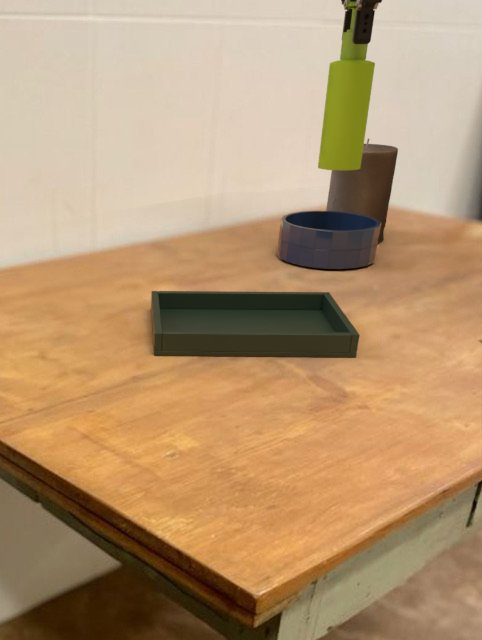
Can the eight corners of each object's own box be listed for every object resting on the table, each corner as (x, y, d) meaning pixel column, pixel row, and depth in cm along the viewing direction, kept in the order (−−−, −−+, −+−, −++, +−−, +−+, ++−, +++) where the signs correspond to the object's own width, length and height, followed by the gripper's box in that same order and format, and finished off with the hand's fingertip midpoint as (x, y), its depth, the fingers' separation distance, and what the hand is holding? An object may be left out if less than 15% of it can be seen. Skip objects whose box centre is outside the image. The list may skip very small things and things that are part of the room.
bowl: (361, 247, 128) (367, 210, 125) (385, 271, 116) (392, 231, 113) (271, 246, 128) (274, 210, 125) (285, 270, 116) (290, 231, 113)
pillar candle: (395, 242, 131) (414, 140, 123) (347, 248, 128) (363, 144, 120) (356, 229, 139) (371, 133, 131) (309, 235, 135) (322, 136, 127)
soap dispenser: (313, 170, 114) (332, 1, 104) (321, 164, 119) (340, 3, 109) (356, 172, 112) (379, -1, 102) (362, 166, 117) (386, 2, 107)
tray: (326, 312, 100) (329, 292, 99) (356, 357, 87) (359, 334, 86) (150, 310, 101) (151, 290, 99) (153, 355, 87) (154, 333, 86)
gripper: (426, -128, 92) (399, 45, 101) (392, -111, 104) (370, 42, 113) (360, -127, 92) (338, 45, 101) (333, -110, 105) (316, 42, 114)
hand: (355, 42), depth 107 cm, fingers closed on soap dispenser, 5 cm apart
